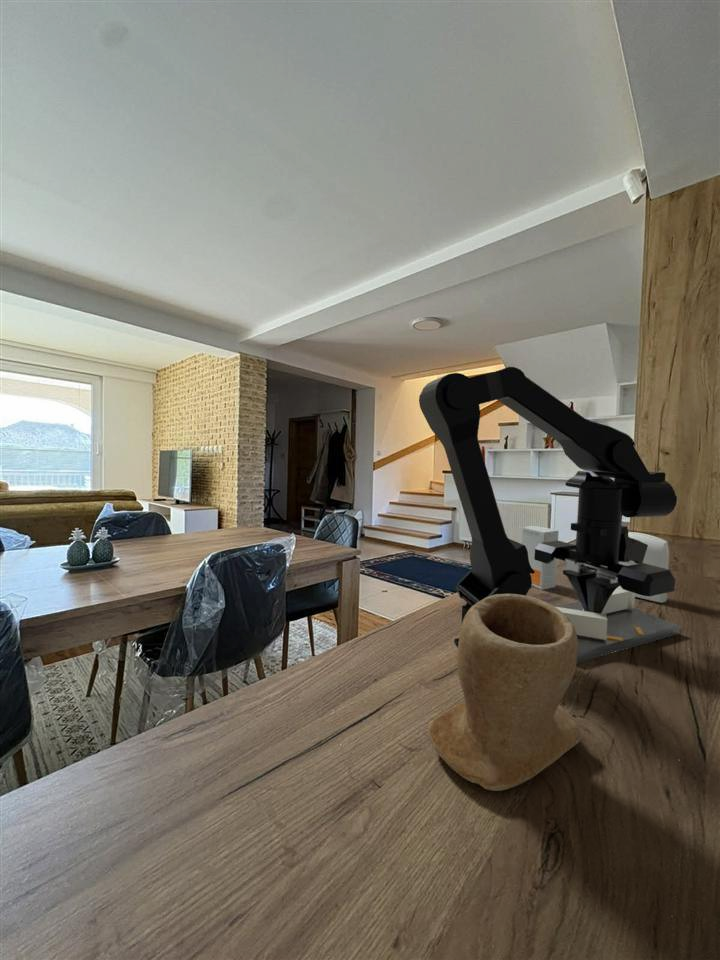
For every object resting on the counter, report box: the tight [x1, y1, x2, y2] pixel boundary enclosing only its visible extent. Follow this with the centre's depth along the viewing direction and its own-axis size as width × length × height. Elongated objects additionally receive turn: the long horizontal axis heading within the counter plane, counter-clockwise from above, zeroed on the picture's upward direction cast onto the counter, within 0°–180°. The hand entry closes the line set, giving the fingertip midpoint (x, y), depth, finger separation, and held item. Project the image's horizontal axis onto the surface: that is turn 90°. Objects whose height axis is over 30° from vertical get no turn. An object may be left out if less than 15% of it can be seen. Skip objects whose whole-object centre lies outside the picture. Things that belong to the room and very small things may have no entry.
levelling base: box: [555, 600, 680, 665], centre depth 66 cm, size 23×13×3 cm, turn 113°
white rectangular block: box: [553, 605, 607, 640], centre depth 62 cm, size 10×2×3 cm, turn 65°
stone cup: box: [427, 594, 584, 792], centre depth 39 cm, size 15×12×15 cm
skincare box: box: [521, 525, 559, 591], centre depth 87 cm, size 6×4×12 cm
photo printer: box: [619, 531, 670, 604], centre depth 82 cm, size 10×4×12 cm, turn 39°
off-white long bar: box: [583, 587, 636, 614], centre depth 70 cm, size 10×2×3 cm, turn 113°
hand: (592, 620), depth 63 cm, fingers closed
